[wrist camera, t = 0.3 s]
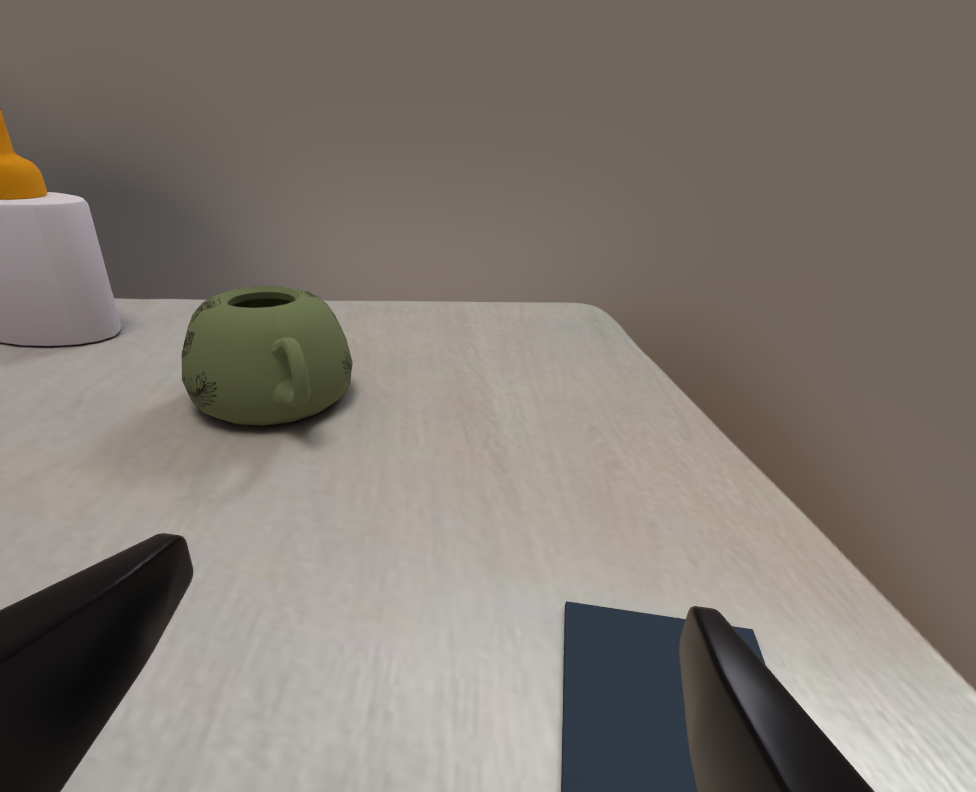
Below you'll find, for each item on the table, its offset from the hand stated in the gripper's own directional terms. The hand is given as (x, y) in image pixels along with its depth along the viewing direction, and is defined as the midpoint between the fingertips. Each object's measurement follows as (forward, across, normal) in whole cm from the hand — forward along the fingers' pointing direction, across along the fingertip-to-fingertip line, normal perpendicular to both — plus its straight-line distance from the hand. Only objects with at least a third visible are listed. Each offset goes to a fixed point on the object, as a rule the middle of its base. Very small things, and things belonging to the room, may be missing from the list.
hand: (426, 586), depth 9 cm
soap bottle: (+39, +48, +14) cm, 64 cm away
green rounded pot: (+30, +19, +14) cm, 38 cm away
